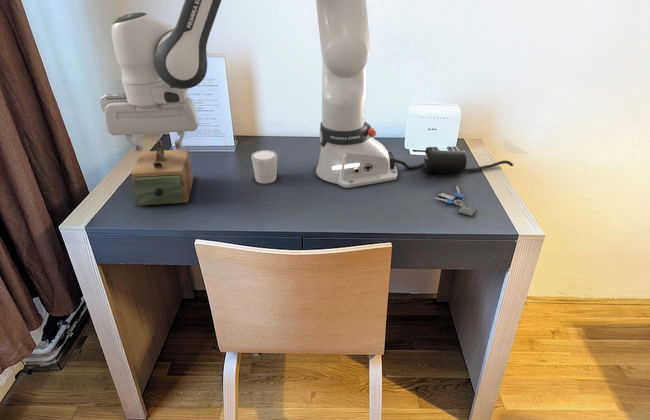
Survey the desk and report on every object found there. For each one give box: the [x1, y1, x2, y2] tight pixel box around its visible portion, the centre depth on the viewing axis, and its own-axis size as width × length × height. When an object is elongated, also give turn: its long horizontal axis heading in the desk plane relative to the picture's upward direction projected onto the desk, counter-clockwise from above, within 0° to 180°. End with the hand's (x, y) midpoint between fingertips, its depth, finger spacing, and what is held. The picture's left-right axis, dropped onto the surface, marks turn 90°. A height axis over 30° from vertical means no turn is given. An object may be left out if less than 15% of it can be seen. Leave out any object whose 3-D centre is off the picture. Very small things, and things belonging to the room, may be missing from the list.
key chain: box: [434, 185, 476, 217], centre depth 106 cm, size 14×8×1 cm, turn 6°
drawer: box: [132, 174, 185, 206], centre depth 106 cm, size 13×10×7 cm
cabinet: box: [130, 148, 194, 206], centre depth 108 cm, size 13×12×9 cm
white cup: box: [250, 149, 278, 184], centre depth 114 cm, size 7×7×7 cm
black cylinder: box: [423, 146, 468, 175], centre depth 118 cm, size 10×7×7 cm
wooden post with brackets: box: [153, 139, 165, 168], centre depth 105 cm, size 2×8×4 cm, turn 10°
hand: (159, 149), depth 104 cm, fingers open, 8 cm apart
